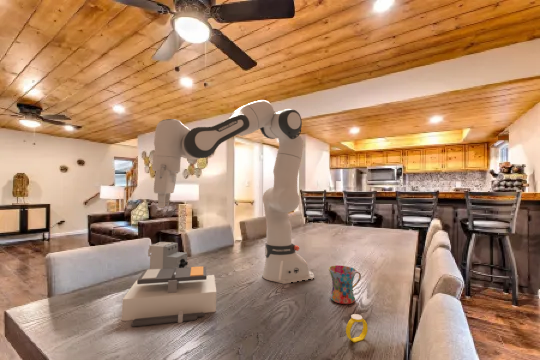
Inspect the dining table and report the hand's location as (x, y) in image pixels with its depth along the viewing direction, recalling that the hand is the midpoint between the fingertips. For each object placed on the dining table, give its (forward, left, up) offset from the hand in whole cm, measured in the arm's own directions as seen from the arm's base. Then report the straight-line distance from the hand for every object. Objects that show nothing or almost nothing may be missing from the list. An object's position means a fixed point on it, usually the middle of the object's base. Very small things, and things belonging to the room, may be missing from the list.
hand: (163, 206), depth 87 cm
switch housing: (-5, +4, -31) cm, 32 cm away
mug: (-62, +13, -32) cm, 70 cm away
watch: (-52, +35, -32) cm, 70 cm away
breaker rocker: (-5, +4, -22) cm, 23 cm away
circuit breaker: (-1, -17, -32) cm, 36 cm away
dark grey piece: (-5, +15, -31) cm, 35 cm away
